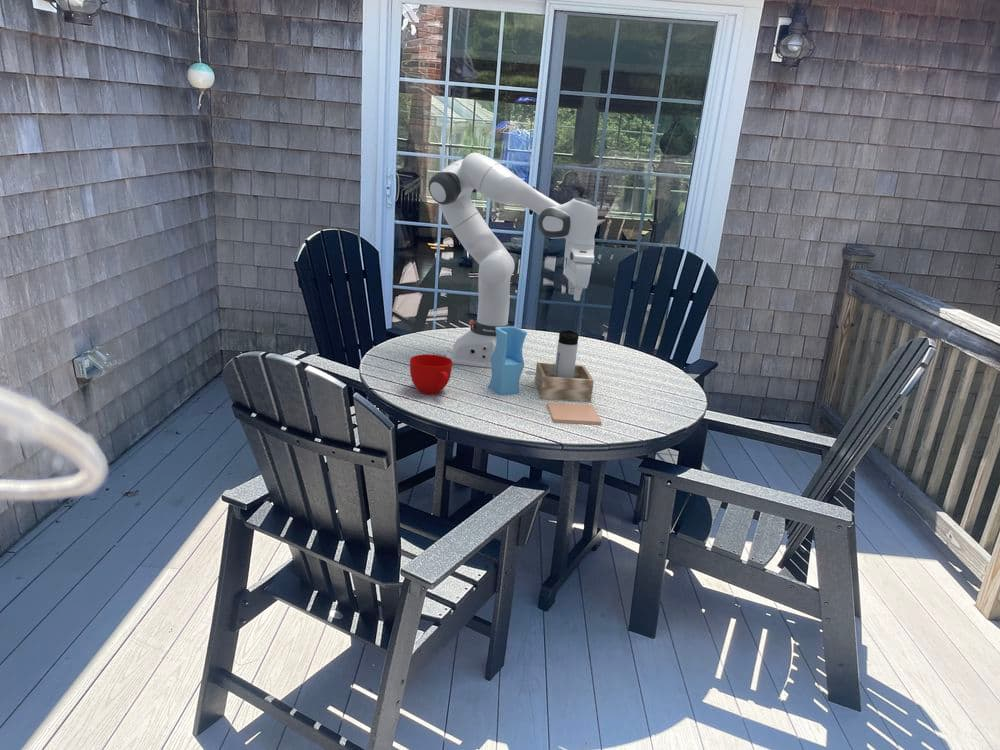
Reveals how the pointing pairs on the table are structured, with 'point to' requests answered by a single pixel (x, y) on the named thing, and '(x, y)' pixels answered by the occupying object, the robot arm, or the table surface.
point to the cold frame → (563, 383)
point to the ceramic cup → (430, 372)
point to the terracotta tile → (573, 413)
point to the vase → (507, 360)
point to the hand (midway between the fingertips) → (573, 297)
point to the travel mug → (566, 354)
